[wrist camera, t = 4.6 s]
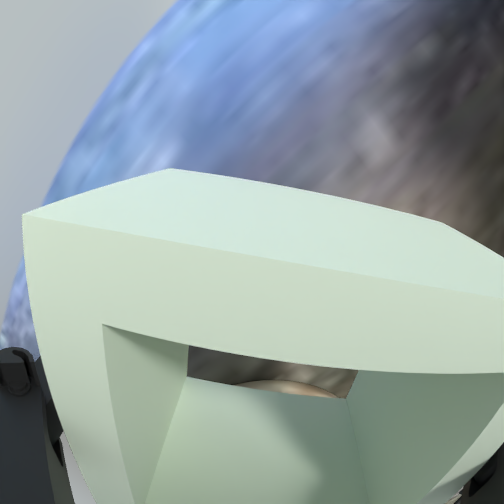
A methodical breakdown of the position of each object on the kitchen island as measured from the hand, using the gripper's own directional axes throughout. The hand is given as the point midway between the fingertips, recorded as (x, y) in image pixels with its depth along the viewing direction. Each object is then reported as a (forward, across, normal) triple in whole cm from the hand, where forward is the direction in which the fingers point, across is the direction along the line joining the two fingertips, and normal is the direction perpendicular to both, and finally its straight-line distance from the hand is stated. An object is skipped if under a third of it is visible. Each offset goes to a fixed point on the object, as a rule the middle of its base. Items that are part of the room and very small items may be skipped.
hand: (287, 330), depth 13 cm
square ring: (+1, 0, 0) cm, 1 cm away
